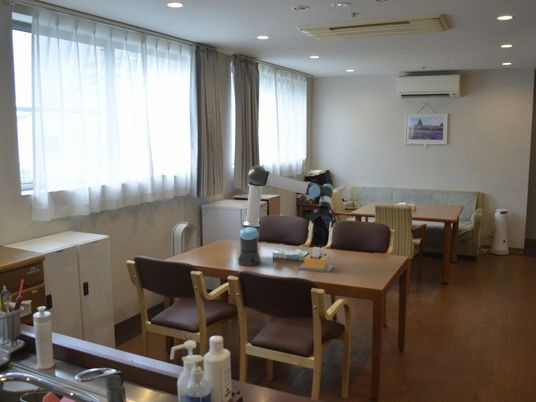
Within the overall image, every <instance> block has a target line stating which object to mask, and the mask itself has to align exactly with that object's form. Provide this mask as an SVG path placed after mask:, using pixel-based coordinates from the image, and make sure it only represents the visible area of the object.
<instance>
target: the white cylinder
mask: <svg viewBox="0 0 536 402" xmlns="http://www.w3.org/2000/svg"><path fill="white" fill-rule="evenodd" d="M311 252H312V253H311V255H312V258H314V259H320V255H321V247H320V246H319V247H318V246H313V247H312V250H311Z"/></svg>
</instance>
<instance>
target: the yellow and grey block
mask: <svg viewBox="0 0 536 402" xmlns="http://www.w3.org/2000/svg"><path fill="white" fill-rule="evenodd" d="M297 268H298V271H307V272H317V273H318V272H319V273H331V271H332V270H333V269H334V268H335V265H333V264H329V256H328V255H321V254H320V259H314V258H312V254H307V255H306V256H305V257H304V258H303V263H302V264H300V266H298V267H297Z"/></svg>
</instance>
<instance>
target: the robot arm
mask: <svg viewBox="0 0 536 402" xmlns="http://www.w3.org/2000/svg"><path fill="white" fill-rule="evenodd" d="M247 178H248V179H247V186H248V188H249V190H248V197H247V205H246V206H247V207H246V214H245V215H246V216H245V221H244V222H243V223H242V228H241V229H240V231H239V236H240V237H239V238H240V244H239V245H240V246H239V247H240V253H239V256H238V259H237V261H238V265H240V266H243V267H255V266H259V265H260V264H261V263H262V260H261V257H260V254H259V236H260V227H261V224H260V223H259V218H260V217H259V216H260V208H261V201H262V192H263V191H262V190H263V188H264V187H267V186H272V187H276V188H278V189H283V190H287V191H290V192H294V193H299V194H302V195H306V196H308V197H311V198H317V197H320V198H319V204H318V208H317V209H315V208H313V209H312V211H311V212H310V213H309V215H307V217H306V218H305V220H306V222H307V227H308V228H307V229H308V232H310V231H311V229H312V224H313V223H312V222H313V221H314V220H316V219H317V218H320V217H326V218H327V219H328V220H329V221H330V222H329V226H328V227H329V228H328V232H329V233H331V232H332V228H333V227H334V224H337V223H338V221H337V219H336V216H335V212H334V209H330V208H331V203H332V199H333V194H334V186H333V185H332V184H331V183H325V184H323V185H320V184H318V183H315V182H311V181H306V182H304V181H301V180H297V179H294V178H293V179H292V178H289V177H285V176H281V175H277V174H274V173H272V172H271V171H268V170H266V169H265V168H264V167H263V166H262V165H257V164H256V165H253V166H251V168H250V169H249V170H248V172H247ZM329 214H330V215H331V216H332V217H331V216H330V215H329Z"/></svg>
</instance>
